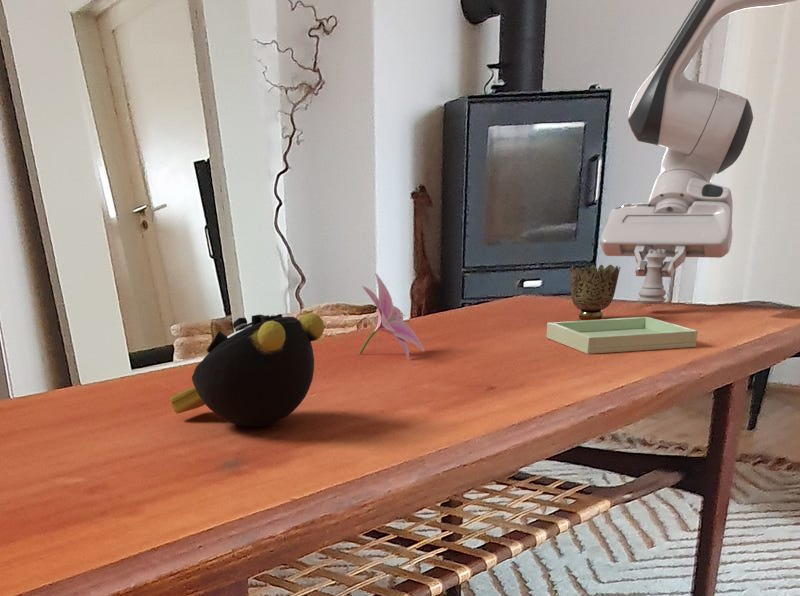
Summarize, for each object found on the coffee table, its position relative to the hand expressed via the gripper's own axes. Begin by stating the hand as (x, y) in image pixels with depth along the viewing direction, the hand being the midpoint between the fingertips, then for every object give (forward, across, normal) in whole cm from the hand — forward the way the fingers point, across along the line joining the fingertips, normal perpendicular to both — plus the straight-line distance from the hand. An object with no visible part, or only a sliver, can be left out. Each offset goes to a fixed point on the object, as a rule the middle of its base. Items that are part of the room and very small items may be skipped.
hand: (653, 274), depth 155 cm
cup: (+12, -6, -3) cm, 14 cm away
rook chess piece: (+3, 0, +4) cm, 5 cm away
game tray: (+24, +3, -16) cm, 29 cm away
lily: (+39, -21, -31) cm, 54 cm away
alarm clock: (+67, -16, -59) cm, 91 cm away
